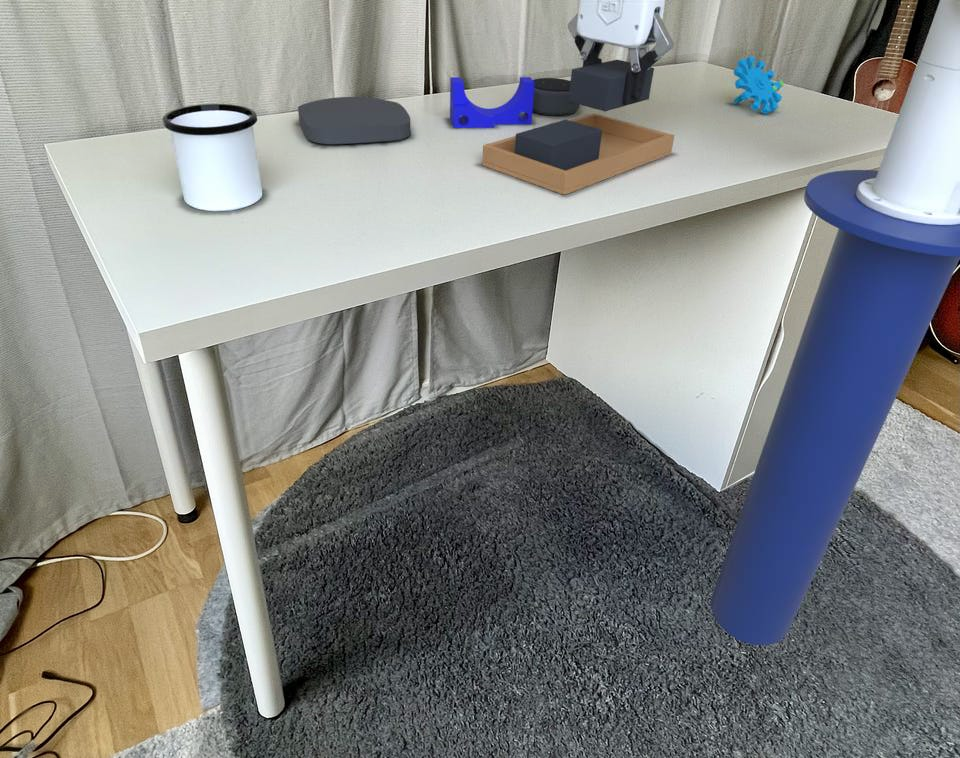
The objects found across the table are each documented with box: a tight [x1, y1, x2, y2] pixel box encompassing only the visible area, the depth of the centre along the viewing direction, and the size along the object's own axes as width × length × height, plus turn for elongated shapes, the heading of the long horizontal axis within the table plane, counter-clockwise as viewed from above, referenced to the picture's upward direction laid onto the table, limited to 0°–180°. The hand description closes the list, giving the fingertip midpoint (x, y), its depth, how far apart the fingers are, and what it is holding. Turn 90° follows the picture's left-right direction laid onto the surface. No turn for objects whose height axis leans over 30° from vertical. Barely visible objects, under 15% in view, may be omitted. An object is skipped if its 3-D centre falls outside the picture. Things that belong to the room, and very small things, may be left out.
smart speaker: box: [532, 77, 581, 117], centre depth 115 cm, size 9×9×4 cm
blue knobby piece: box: [733, 55, 785, 115], centre depth 121 cm, size 11×6×10 cm
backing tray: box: [481, 112, 675, 196], centre depth 96 cm, size 14×24×3 cm, turn 136°
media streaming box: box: [297, 96, 412, 145], centre depth 103 cm, size 15×15×3 cm
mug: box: [161, 103, 263, 212], centre depth 79 cm, size 12×10×9 cm
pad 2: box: [568, 59, 655, 112], centre depth 95 cm, size 6×10×4 cm, turn 136°
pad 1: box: [515, 119, 602, 171], centre depth 92 cm, size 6×10×4 cm, turn 136°
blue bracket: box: [449, 76, 535, 129], centre depth 107 cm, size 12×4×6 cm, turn 100°
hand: (609, 95), depth 96 cm, fingers closed on pad 2, 6 cm apart
